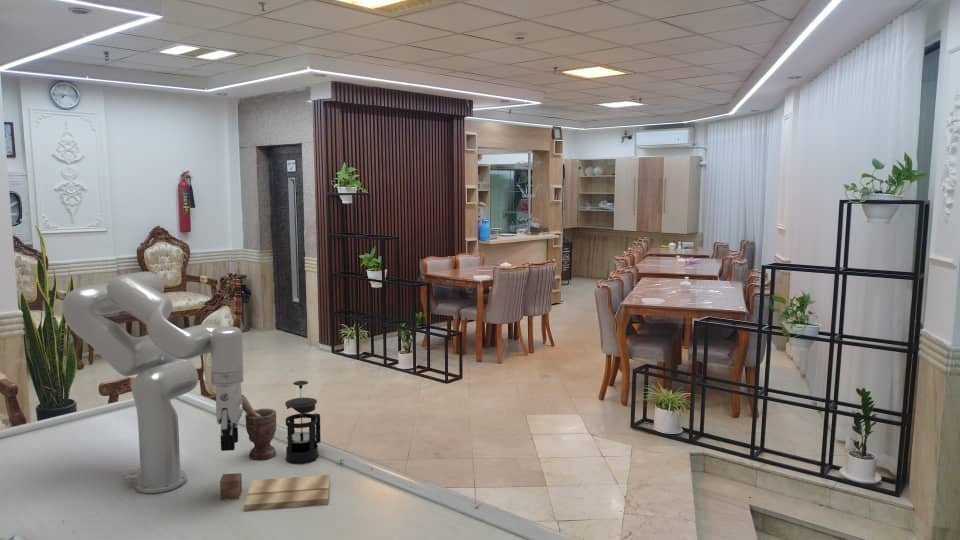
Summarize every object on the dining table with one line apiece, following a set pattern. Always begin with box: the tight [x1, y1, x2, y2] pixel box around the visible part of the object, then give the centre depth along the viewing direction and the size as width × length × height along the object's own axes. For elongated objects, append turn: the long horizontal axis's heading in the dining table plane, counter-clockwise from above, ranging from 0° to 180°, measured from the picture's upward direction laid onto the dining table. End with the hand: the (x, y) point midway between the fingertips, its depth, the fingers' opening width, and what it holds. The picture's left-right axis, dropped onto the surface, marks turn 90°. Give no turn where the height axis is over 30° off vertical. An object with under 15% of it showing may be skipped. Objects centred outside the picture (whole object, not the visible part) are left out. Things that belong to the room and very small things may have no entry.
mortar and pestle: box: [242, 394, 277, 461], centre depth 193 cm, size 12×9×20 cm
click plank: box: [247, 474, 330, 494], centre depth 173 cm, size 20×7×2 cm, turn 101°
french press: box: [284, 380, 322, 465], centre depth 194 cm, size 12×9×23 cm
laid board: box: [243, 487, 330, 512], centre depth 166 cm, size 20×6×2 cm, turn 101°
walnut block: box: [219, 472, 243, 501], centre depth 170 cm, size 4×4×5 cm
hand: (229, 445), depth 169 cm, fingers open, 4 cm apart
